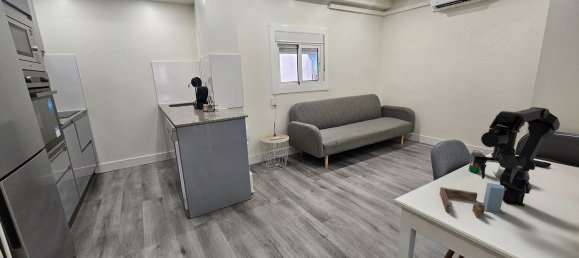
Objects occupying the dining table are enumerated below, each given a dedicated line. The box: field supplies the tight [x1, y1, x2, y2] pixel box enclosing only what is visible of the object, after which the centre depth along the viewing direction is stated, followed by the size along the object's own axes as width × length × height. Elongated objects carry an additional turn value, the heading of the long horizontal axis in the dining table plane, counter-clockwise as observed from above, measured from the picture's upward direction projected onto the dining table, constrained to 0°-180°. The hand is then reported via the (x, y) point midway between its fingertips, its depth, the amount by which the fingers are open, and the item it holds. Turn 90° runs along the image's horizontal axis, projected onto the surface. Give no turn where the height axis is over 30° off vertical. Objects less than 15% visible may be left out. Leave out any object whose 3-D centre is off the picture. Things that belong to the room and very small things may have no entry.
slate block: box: [482, 182, 505, 212], centre depth 98 cm, size 4×4×10 cm
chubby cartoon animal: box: [493, 166, 505, 179], centre depth 124 cm, size 7×12×8 cm, turn 45°
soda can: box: [468, 149, 484, 174], centre depth 134 cm, size 5×5×12 cm
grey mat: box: [478, 202, 505, 215], centre depth 99 cm, size 6×6×1 cm
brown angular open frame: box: [439, 187, 485, 219], centre depth 101 cm, size 14×16×4 cm
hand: (496, 180), depth 96 cm, fingers open, 9 cm apart
